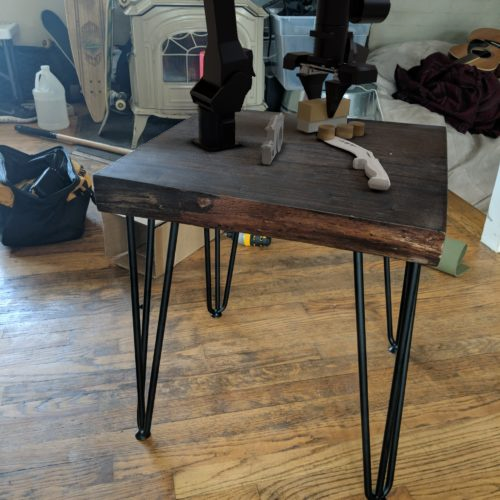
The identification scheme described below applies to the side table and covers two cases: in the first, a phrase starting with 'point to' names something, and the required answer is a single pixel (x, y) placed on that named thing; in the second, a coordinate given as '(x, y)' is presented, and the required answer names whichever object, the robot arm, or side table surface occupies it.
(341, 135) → the short tan cylinder
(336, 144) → the knife
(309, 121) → the oblong tan box
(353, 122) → the crumb
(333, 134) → the tan squat cylinder
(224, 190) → the side table surface
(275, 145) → the garden wall model
